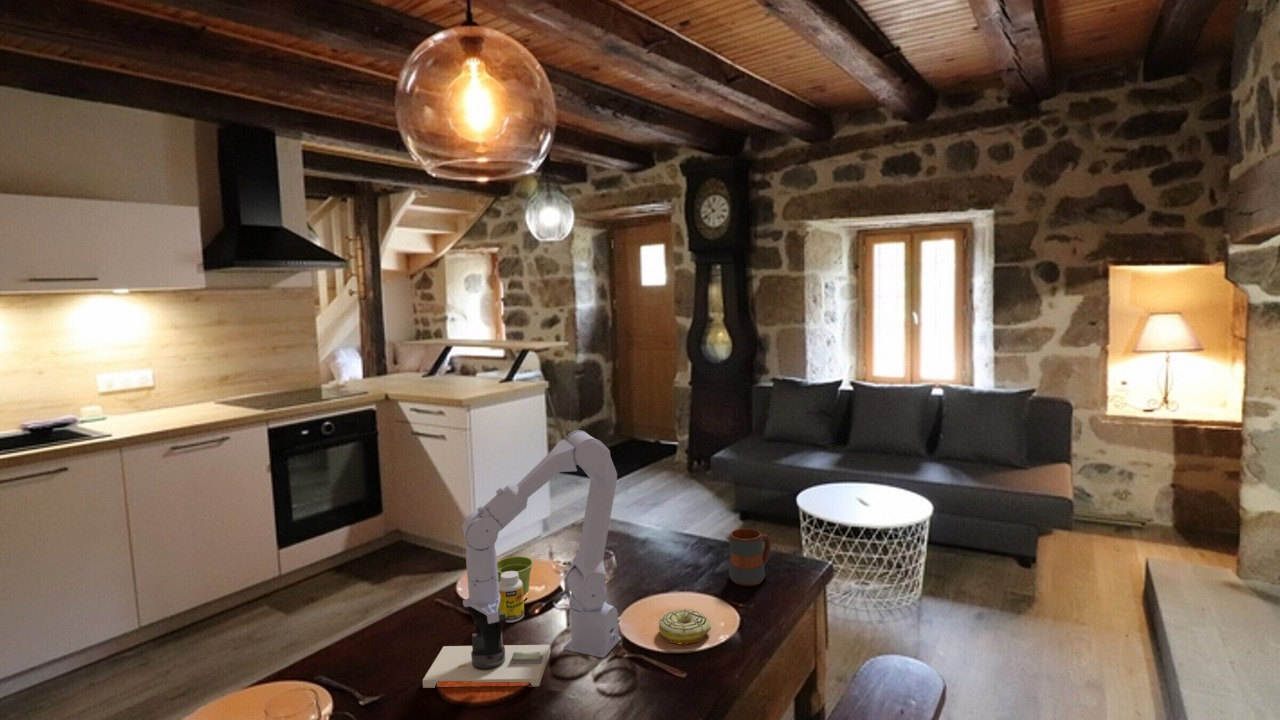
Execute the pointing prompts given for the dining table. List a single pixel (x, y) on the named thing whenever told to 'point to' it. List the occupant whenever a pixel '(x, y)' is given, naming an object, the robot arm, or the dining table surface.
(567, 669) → the dining table surface
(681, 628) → the decorated donut
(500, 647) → the knob
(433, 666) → the base plate
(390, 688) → the dining table surface
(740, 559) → the mug
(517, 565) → the plant pot
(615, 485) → the robot arm
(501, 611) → the supplement bottle
